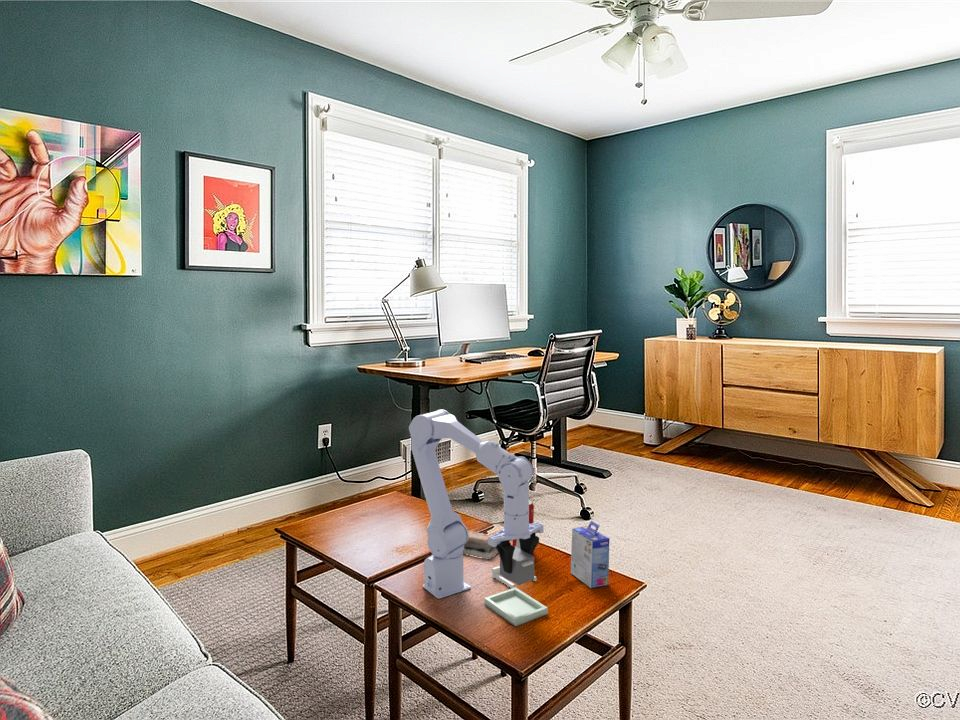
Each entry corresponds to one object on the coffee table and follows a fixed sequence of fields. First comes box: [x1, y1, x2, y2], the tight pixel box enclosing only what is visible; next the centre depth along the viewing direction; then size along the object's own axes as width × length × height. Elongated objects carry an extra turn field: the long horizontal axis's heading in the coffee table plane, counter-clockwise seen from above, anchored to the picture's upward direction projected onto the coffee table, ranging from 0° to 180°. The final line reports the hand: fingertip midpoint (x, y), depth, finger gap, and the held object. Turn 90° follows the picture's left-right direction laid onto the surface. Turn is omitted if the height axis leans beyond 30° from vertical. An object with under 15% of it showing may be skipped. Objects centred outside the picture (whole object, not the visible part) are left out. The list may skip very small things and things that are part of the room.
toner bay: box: [491, 565, 538, 589], centre depth 155 cm, size 9×8×2 cm
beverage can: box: [511, 498, 535, 549], centre depth 171 cm, size 6×6×15 cm
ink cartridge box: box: [570, 520, 610, 589], centre depth 154 cm, size 10×6×14 cm, turn 24°
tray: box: [484, 586, 549, 627], centre depth 140 cm, size 9×12×2 cm
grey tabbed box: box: [499, 547, 535, 586], centre depth 139 cm, size 5×8×6 cm, turn 34°
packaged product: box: [463, 529, 499, 560], centre depth 175 cm, size 18×5×10 cm
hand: (516, 568), depth 139 cm, fingers closed on grey tabbed box, 5 cm apart
